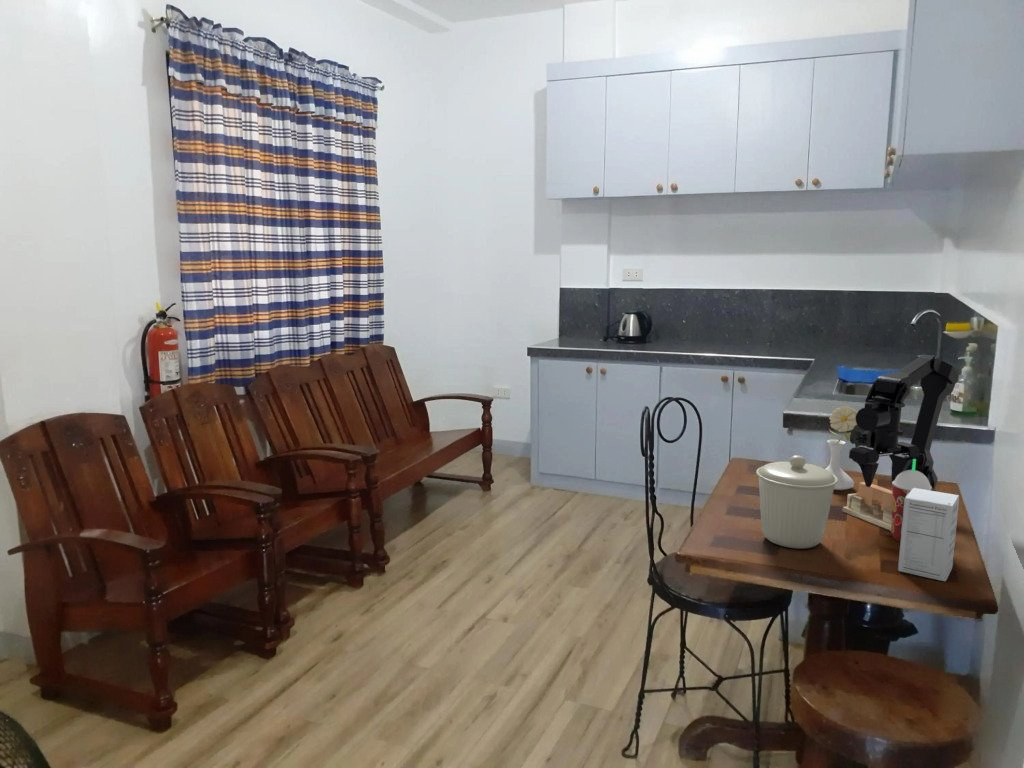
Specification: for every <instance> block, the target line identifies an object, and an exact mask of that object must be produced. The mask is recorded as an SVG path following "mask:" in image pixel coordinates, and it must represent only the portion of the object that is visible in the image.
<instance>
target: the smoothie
mask: <svg viewBox="0 0 1024 768" xmlns="http://www.w3.org/2000/svg"><path fill="white" fill-rule="evenodd" d="M915 466H916V459H913V464H912V470H906V471H903V472H901V473H900V474H899V475H898V476H897V477H896V478H895V480H894V481H893V482H892V481H891V485H892V490H891V491H892V521H891V531H890V533H891V534H892V537H893V539H894V540H896V541H898V542H900V543H901V529H902V521H903V510H904V500H905V497H906V496H907V495H908V494H909V492H910V491H911V490H912V489H913V488H918V489H924V490H930V491H932V489H933V488H932V486H931V485H930V483H929V480H928V479H927V477H926V476H925V475H924V474H923V473H921V472H919V471H917V470H915Z"/></svg>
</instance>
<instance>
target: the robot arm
mask: <svg viewBox="0 0 1024 768" xmlns="http://www.w3.org/2000/svg"><path fill="white" fill-rule="evenodd" d="M959 374H960V373H959V372H958V370H957V369H956V368H955V367H954V365H951V364H949V363H948V362H945V361H944V360H942V359H941V357H939V356H937V355H931V354H930V355H929V354H923V353H922V354H919V355H917V356H916V358H915V359H914V360H912V361H911V362H909V363H908V364H906V365H905V366H904V367H902V368H900V369H899V370H898V371H895V372H887V373H883V374H880V375H879V376H877V377H876V379H875V380H874V381H873V383H872V384H871V387H870V390H869V391H868V394H867V396H866V398H865V400H864V402H865V403H864V407H862V408H860V409H858V411H857V415H856V423H857V425H856V426H858V428H860V429H861V430H863V431H868V433H862V432H861V431H860V430H856V431H851V432H850V433H851V434H850V441H849V442H850V444H853V445H854V447H851V449H849V452H848V459H850V460H852V462H854V463H856V464H857V465H858V466H859V467H860V471H861V474H862V478H863V482H865V485H866V486H867V487H870V486H871V484H873V482H874V479H875V475H876V473H877V471H878V467H879V464H880V463H878V461H879V459H880V457H887V456H889V458H890V460H891V483H892V482H893V481H894V480H895V478H896V477H897V476H898V475H899V474H900V473H901V472H903V471H906V470H912V464H913V459H916V466H915V470H917V471H919V472H921V473H923V474H924V475H925V476H926V477H927V479H928V480H929V483H930V485H931V486H932V489H936V487H937V484H938V479H939V478H938V476H937V474H936V472H935V470H934V459H933V457H932V454H931V447H932V444H933V440H934V436H935V433H936V429H937V425H938V421H939V418H940V414H941V410H942V407H943V403H944V400H945V399H946V398H947V397H948V396H950V394H952V392H954V389H955V386H956V384H957V383H958V381H959V377H960V376H959ZM919 381H920V382H919ZM918 382H919V385H920V389H921V390H922V393H923V395H922V401H921V404H920V408H919V411H918V415H917V419H916V423H915V426H914V429H913V432H912V437H911V441H910V443H908V442H905V441H899V438H900V437H899V436H903V435H904V431H903V430H900V429H901V428H900V425H901V418H902V408H905V406H906V405H905V403H904V401H905V400H906V398H907V397H908V396H909V395H910V394H911V387H912V386H914V385H915V384H917V383H918Z"/></svg>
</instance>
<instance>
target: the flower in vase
mask: <svg viewBox="0 0 1024 768" xmlns="http://www.w3.org/2000/svg"><path fill="white" fill-rule="evenodd" d="M857 412H858V411H857V410H856V409H854V408H853V407H850V406H849V405H846V406H842V405H841V406H840V407H836V408H835V410H834V411H832V412H831V415H829V420H830V421H829V424H830V428H832V429H834V430H835V431H837V432H839V433H843V435H842V436H841V437H840V436H839V435H838V433H835V432H834V431H832V430H831V429H830V428H828V431H829V432H830V433H832V434H833V435H835V436H836V437H838V438H839V439H828V440H826V442H827V444H828V445H829V448H830V449H829V450H830V462H829V464H828V466H827V467H826V468H825V469H826V470H828V471H830V472H831V473H832V474H834V475H835V476H836V477H837V478H838V483H837V484H836V485H834V490H836V491H844V490H849V489H852V488H853V487H854V485H855V482H854V480H853V479H852V477H850V475H849V474H848V473H846V472H845V471H844V470H843V469H842V468H841V466H840V455H841V452H842V448H843V447H844V445H846V441H848V442H850V434H851V432H849V431H853V430H854V429H855V427H857V426H858V425H857V423H856V415H857ZM847 431H848V432H847ZM844 437H845V439H846V441H844V440H842V439H843V438H844ZM834 490H833V491H834Z"/></svg>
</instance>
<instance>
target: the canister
mask: <svg viewBox="0 0 1024 768" xmlns="http://www.w3.org/2000/svg"><path fill="white" fill-rule="evenodd" d="M806 462H807V461H806V458H805V457H803V455H799V454H795V455H792V456H791V457H789V461H775V462H769V463H766V464H765V465H762V466H760V467H758V468H757V469H756V472H755V473H756V475H757V477H758V486H759V488H758V490H759V491H758V492H759V505H760V506H759V507H760V511H759V512H760V521H761V530H762V532H763V535H764V537H765V538H766V539H767V540H768V541H769V542H771V543H773V544H774V545H777V546H781V547H785V548H788V549H810V548H813V547H816V546H817V545H819V544H820V543H821V541H822V540H823V538H824V535H825V530H826V527H827V522H828V518H829V514H830V510H831V505H832V504H831V503H832V500H833V495H834V485H836V484H837V483H838V478H837V477H836V476H835V475H834V474H832V473H831V472H830V471H828V470H826V468H824V467H821V466H818V465H815V464H811V463H806Z"/></svg>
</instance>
